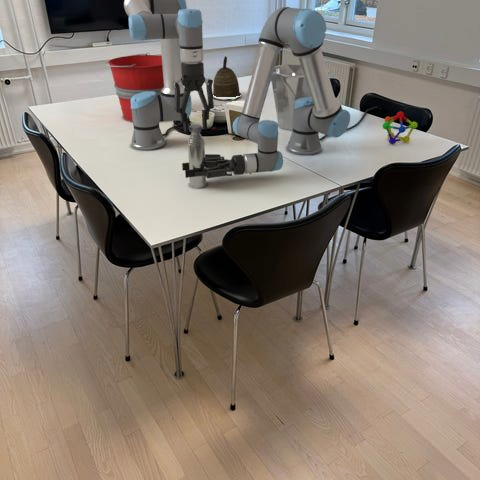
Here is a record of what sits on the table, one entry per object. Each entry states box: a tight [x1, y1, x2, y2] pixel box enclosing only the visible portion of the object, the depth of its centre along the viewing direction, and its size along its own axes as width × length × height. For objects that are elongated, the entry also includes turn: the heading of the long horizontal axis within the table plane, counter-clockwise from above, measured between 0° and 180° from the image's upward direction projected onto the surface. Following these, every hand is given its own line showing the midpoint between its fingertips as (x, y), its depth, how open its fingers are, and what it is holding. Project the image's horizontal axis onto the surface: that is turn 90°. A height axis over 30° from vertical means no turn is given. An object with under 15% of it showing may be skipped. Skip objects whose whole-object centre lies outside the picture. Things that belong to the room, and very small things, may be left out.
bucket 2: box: [270, 63, 330, 131], centre depth 226 cm, size 30×30×28 cm
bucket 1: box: [105, 52, 164, 123], centre depth 239 cm, size 35×35×30 cm
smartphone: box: [205, 153, 221, 169], centre depth 189 cm, size 7×1×15 cm
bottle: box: [187, 132, 207, 189], centre depth 164 cm, size 6×6×22 cm
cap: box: [188, 123, 203, 133], centre depth 158 cm, size 4×4×2 cm
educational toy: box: [382, 110, 418, 145], centre depth 207 cm, size 16×13×15 cm
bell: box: [212, 56, 242, 97], centre depth 278 cm, size 19×26×20 cm
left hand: (195, 129), depth 159 cm, fingers open, 6 cm apart
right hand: (184, 170), depth 165 cm, fingers closed on bottle, 6 cm apart
